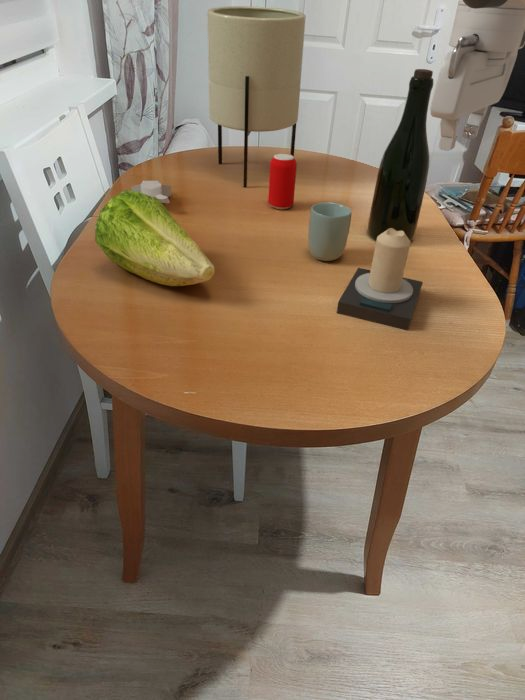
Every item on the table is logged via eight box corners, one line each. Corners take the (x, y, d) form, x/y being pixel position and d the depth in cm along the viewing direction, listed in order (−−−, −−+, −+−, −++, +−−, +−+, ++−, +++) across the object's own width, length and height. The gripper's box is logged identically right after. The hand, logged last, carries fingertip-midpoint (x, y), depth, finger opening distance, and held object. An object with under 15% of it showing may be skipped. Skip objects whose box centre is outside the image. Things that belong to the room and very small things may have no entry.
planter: (201, 187, 138) (195, 14, 114) (220, 157, 157) (218, 3, 133) (288, 195, 137) (301, 21, 112) (296, 164, 155) (309, 9, 131)
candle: (362, 280, 91) (372, 227, 86) (388, 276, 93) (399, 223, 87) (379, 295, 87) (390, 240, 82) (406, 290, 89) (419, 236, 83)
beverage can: (294, 211, 125) (298, 160, 118) (268, 210, 124) (271, 159, 117) (291, 202, 130) (295, 152, 122) (267, 201, 129) (269, 152, 122)
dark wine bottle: (414, 249, 110) (456, 75, 91) (365, 242, 112) (395, 71, 92) (413, 230, 119) (450, 68, 99) (367, 224, 120) (395, 63, 101)
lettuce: (241, 292, 94) (177, 329, 85) (156, 240, 106) (92, 269, 97) (242, 220, 84) (170, 254, 76) (148, 172, 96) (77, 197, 87)
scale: (420, 292, 95) (423, 278, 93) (407, 330, 84) (411, 315, 83) (356, 277, 98) (358, 264, 97) (336, 312, 88) (338, 298, 86)
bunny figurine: (169, 176, 129) (172, 189, 116) (171, 197, 131) (174, 212, 118) (130, 177, 127) (129, 190, 114) (132, 198, 130) (131, 213, 117)
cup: (331, 246, 109) (337, 200, 103) (351, 261, 104) (359, 213, 98) (299, 251, 106) (303, 204, 100) (318, 268, 101) (324, 219, 95)
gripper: (484, 39, 59) (453, 162, 68) (531, 33, 73) (500, 135, 81) (432, 34, 62) (408, 152, 71) (486, 28, 76) (461, 128, 84)
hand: (457, 143), depth 76 cm, fingers open, 8 cm apart
